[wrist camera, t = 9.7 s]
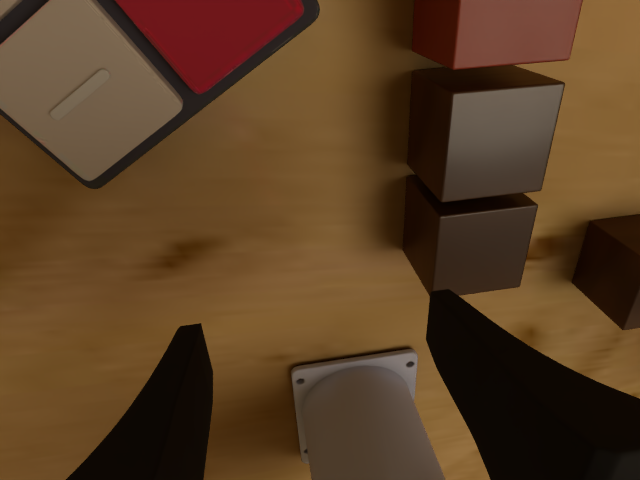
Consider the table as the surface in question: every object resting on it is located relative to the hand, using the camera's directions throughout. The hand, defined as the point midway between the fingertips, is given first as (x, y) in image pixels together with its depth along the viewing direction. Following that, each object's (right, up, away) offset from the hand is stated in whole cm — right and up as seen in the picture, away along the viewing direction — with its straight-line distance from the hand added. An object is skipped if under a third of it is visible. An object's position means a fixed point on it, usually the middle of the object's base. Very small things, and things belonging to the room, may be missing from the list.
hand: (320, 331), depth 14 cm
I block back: (+18, +2, +13) cm, 22 cm away
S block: (+6, +13, +4) cm, 15 cm away
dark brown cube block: (+7, +4, +10) cm, 12 cm away
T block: (+6, +9, +7) cm, 13 cm away
